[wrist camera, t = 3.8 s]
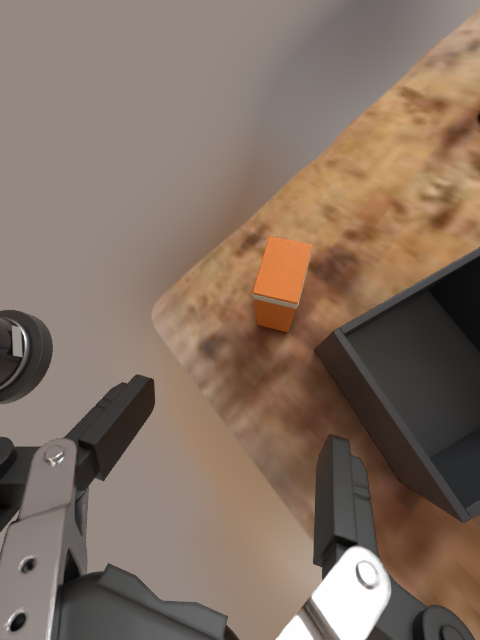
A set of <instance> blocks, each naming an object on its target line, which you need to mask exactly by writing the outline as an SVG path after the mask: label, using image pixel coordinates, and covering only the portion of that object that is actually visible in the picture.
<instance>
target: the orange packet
mask: <svg viewBox="0 0 480 640" xmlns="http://www.w3.org/2000/svg"><path fill="white" fill-rule="evenodd" d="M312 248H313V247H312V245H311V244H306V243H301V242H296V241H291V240H286V239H281V238H276V237H271V236H269V238H268V242H267V245H266V248H265V252H264V255H263V259H262V262H261V266H260V269H259V273H258V276H257V279H256V283H255V286H254V290H253V293H252V295H253V299H254V304H255V311H256V318H257V325H260V326H264V327H268V328H272V329H276V330H280V331H284V332H289V329H290V326H291V323H292V320H293V317H294V314H295V311H296V309H297V307H298V305H299V300H300V296H301V292H302V288H303V284H304V280H305V276H306V272H307V268H308V264H309V260H310V256H311V252H312Z"/></svg>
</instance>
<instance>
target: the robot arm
mask: <svg viewBox="0 0 480 640" xmlns="http://www.w3.org/2000/svg"><path fill="white" fill-rule="evenodd" d="M31 354H32V339H31V336H30V333H29V331H28V330H27V328H26V327H25V326H24V325H23V324H21V323H20V322H18V321H15V320H12V319H9V318H5V317H0V391H3V390H5V389H7V388H8V387H10V386H11V385H13V384H14V383H15V382H16V381H17V380H18V379H19V378H20V377H21V376H22V374H23V373H24V371H25V370H26V368H27V366H28V364H29V362H30V358H31ZM154 405H155V391H154V380H153V379H152V378H148V377H145V376H142V375H135V376H134V377H133V378H132V379H131V381H130V382H129V383H128V384H127V383H124V382H122V383H120V384H119V385H117V386H115V387H113V388H112V389H110V391H109V392H108V393H107V394H106V395H105V396H104V397H103V399H101V400H100V401H99V402H98V403H97V404H96V406H95V407H93V408H92V409H91V410H90V411H89V412H88V414H87V415H85V417H84V418H83V419H82V420H81V421H80V422H79V423H78V424H77V425H76V426H75V427H74V428H73V429H72V430H71V431H70V432H69V433H68V434H67V435H66V436H65V437H64V438H60V439H55V440H52V441H50V442H48V443H46V444H44V445H43V446H41V447H14V445H13V443H12V441H11V440H10V439H8V438H6V437H0V532H1V531H2V530H3V528H4V527H5V526H6V525H7V524H8V522H9V521H10V520H11V519H12V517H13V516H14V515H15V514H16V512H17V511H18V510H19V509H20V511H19V515H18V517H17V519H16V521H13V522H12V523H10V525H9V527H8V528H7V531H6V534H5V537H4V541H3V545H2V549H1V553H0V640H239V639H238V637H237V636H236V635H235V633H234V632H233V631H232V630H231V629H230V628H229V627H228V626H227V625H226V623H227V618H228V616H226V615H224V614H222V613H219V612H217V611H215V610H213V609H210V608H208V607H205V606H203V605H201V604H199V603H196V602H177V601H163V600H160V599H159V598H158V597H157V596H156V595H155V594H154V593H153V592H152V591H151V590H150V589H149V588H148V587H147V586H146V585H145V584H144V583H143V582H142V581H141V580H140V579H139V578H138V577H137V576H136V575H134V574H131V573H129V572H127V571H124V570H122V569H120V568H118V567H115V566H113V565H111V564H109V563H108V565H107V566H106V568H105V570H104V572H102V571H100V572H93V573H89V574H87V549H86V524H87V508H88V491H89V488H88V487H89V485H90V483H91V482H92V481H93V479H94V478H97V479H99V480H102V481H104V480H105V478H106V477H107V475H108V474H109V473H110V471H111V470H112V468H113V467H114V466H115V464H116V463H117V461H118V460H119V459H120V457H121V456H122V454H123V453H124V451H125V450H126V449H127V447H128V446H129V444H130V443H131V441H132V440H133V439H134V437H135V436H136V434H137V433H138V431H139V430H140V429H141V427H142V426H143V425H144V423H145V422H146V420H147V419H148V417H149V416H150V414H151V413H152V411H153V408H154ZM370 499H371V497H370V490H369V482H368V475H367V471H366V469H365V467H364V465H363V463H362V461H361V459H360V458H359V457H356V456H352V455H351V452H350V443H349V440H348V439H344V438H341V437H338V436H335V435H331V434H329V435H328V437H327V440H326V442H325V444H324V446H323V448H322V450H321V452H320V455H319V457H318V461H317V468H316V494H315V525H314V557H313V564H315V565H317V566H320V567H322V582H321V583H320V584H319V586H318V587H317V588H316V590H315V591H314V592H313V593H312V595H311V596H310V597H309V598H308V600H307V601H306V602H305V603H304V605H303V606H302V607H301V608H300V610H299V611H298V612H297V613H296V615H295V616H294V617H293V618H292V620H291V621H290V622H289V623H288V625H287V626H286V627H285V628H284V630H283V631H282V632H281V634H280V635H279V636H278V637H277V639H276V640H475V639H474V637H473V635H472V634H471V632H470V631H469V629H468V628H467V627H466V625H465V624H464V623H463V622H462V621H461V620H460V619H459V617H457V616H456V615H455V614H454V613H453V612H451V611H450V610H448V609H447V608H445V607H442V606H440V605H431V606H429V607H427V606H426V605H424V604H423V603H422V602H420V601H419V600H418V599H416V598H415V597H414V596H413V595H411V594H410V593H409V592H407V591H406V590H405V589H403V588H402V587H401V586H400V585H399V584H397V582H396V581H395V580H394V579H393V578H392V577H391V576H390V575H389V573H388V572H387V570H386V569H385V567H384V565H383V563H382V561H381V559H380V556H379V553H378V549H377V542H376V535H375V527H374V520H373V512H372V505H371V501H370Z"/></svg>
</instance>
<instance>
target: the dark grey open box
mask: <svg viewBox="0 0 480 640" xmlns="http://www.w3.org/2000/svg"><path fill="white" fill-rule="evenodd" d="M315 351H316V352H317V354H318V355H319V357H320V359H321V360H322V362H323V363H324V365H325V366H326V368H327V369H328V371H329V373H330V374H331V376H332V377H333V379H334V380H335V382H336V383H337V385H338V386H339V388H340V390H341V391H342V393H343V394H344V396H345V397H346V399H347V400H348V402H349V403H350V405H351V407H352V408H353V410H354V411H355V413H356V414H357V416H358V417H359V419H360V420H361V422H362V424H363V425H364V427H365V428H366V430H367V431H368V433H369V434H370V436H371V438H372V439H373V441H374V442H375V444H376V445H377V447H378V448H379V450H380V451H381V453H382V455H383V456H384V458H385V459H386V461H387V462H388V464H389V465H390V467H391V468H392V470H393V472H394V473H395V475H396V476H397V478H398V479H399V481H400V482H401V483H403V484H404V485H406V486H408V487H409V488H411V489H412V490H414V491H415V492H417V493H418V494H420V495H421V496H423V497H424V498H426V499H427V500H429V501H430V502H432V503H433V504H435V505H437V506H438V507H440V508H441V509H443V510H444V511H446V512H447V513H449V514H450V515H452V516H453V517H455V518H456V519H458V520H459V521H461V522H463V523H465V522H467V521H468V520H470V519H471V518H473V517H475V516H477V515H478V514H480V247H479V248H477V249H476V250H474V251H472V252H470V253H469V254H467V255H465V256H463V257H462V258H460V259H458V260H456V261H455V262H453V263H451V264H449V265H448V266H446V267H444V268H442V269H441V270H439V271H437V272H435V273H434V274H432V275H430V276H428V277H427V278H425V279H423V280H422V281H420V282H418V283H416V284H415V285H413V286H411V287H409V288H408V289H406V290H404V291H402V292H401V293H399V294H397V295H395V296H394V297H392V298H390V299H388V300H387V301H385V302H383V303H381V304H380V305H378V306H376V307H374V308H373V309H371V310H369V311H368V312H366V313H364V314H362V315H361V316H359V317H357V318H355V319H354V320H352V321H350V322H348V323H347V324H345V325H343V326H341V327H340V328H338V329H336V330H334V331H333V332H332V333H331V334H330V335H329V336H328V337H327V338H326V339H325V340H323V341H322V342H321V343H320V344H319V345H318V346H317V347H316V348H315Z"/></svg>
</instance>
